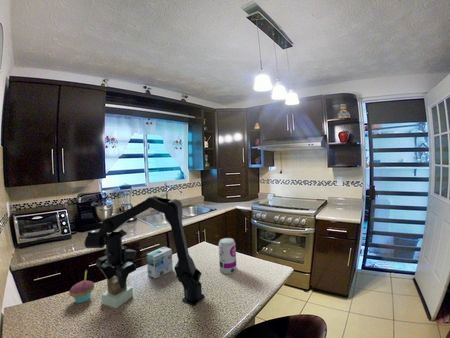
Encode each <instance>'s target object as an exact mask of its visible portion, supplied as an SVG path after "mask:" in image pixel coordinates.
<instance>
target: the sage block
mask: <svg viewBox="0 0 450 338" xmlns="http://www.w3.org/2000/svg"><path fill="white" fill-rule="evenodd" d="M133 296H134V291H133V286H130V285H127V289H126V290H124V291H122V292H121V293H119V294H117V295H116V296H115V295H113V294H111V293H109V292H108V290H105V292H103V293H101V294H100V297H101V304H102V305H104V306H108V307H110V308H114V309H117V308H120V306H122V305H123V304H124V303H125V302H127V301H128V300H130V299H131V298H132V297H133Z"/></svg>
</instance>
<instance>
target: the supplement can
mask: <svg viewBox="0 0 450 338" xmlns="http://www.w3.org/2000/svg"><path fill="white" fill-rule="evenodd" d="M236 245H237V244H236V242H235V239H234V238H231V237H224V238H221V239H219V241H218V257H219V258H218V259H219V271H220V272H221V273H222V274H224V275H230V274H231V275H232V274H234V273H235V272H236V271H237V268H238V267H237V250H236V247H237V246H236Z"/></svg>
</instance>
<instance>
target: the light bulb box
mask: <svg viewBox="0 0 450 338" xmlns="http://www.w3.org/2000/svg"><path fill="white" fill-rule="evenodd" d="M146 265H147V266H146V268H147V269H146V270H147V276H149V277H150V278H152V277H153V279H154V278H155V279H154V280H156V278H157V279H159V278H160V277H162V276H164V275H166V274H168V273H170V272H172V271H174V267H173V249H172V248H169V247H167V246H162V247H160V248H158V249H155V250H152V251H151V252H150V251H149V252H147V253H146Z"/></svg>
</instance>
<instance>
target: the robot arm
mask: <svg viewBox="0 0 450 338" xmlns="http://www.w3.org/2000/svg"><path fill="white" fill-rule="evenodd" d="M149 209H154V210H155V211H156V212H159V213H162V214H164V218H165V219H166V221H167V223H168V224H169V225H170V228H171V234H172V239H173V242H174V246H175V252H176V255H177V256H176V257H177V263H176V264H175V266H174V267H173V270H174V272H175V278H176V279H177V281H179V283H180V284H181V285H182V287H183V296H184V297H182V299H181V301H182V302H184V303H187V304H189V305H192V306H196V305H197V304H198V303H199V302H200V301H201V300H203V299H204V298H205V294H203V291H202V290H203V288H202V283H201V281H200V280H201V276H202V272H201V271H200V270H199V269H198V268H197V267H196V265H195V262H194V259H193V258H192V257H191V255H190V252H189V248H188V244H187V238H186V235H185V230H184V224H183V219H182V218H183V203H182V202H181V200H179V199H177V198H174V199H170V198H166V197H160V196H156V195H151V196H149V197H147V198H146V199H145V200H143V201H141V202H140V203H137V204H135V205H134V206H132V207H131V208H129V209H127V210H125V211H123V212H118V213H116V214H114V215H111V216H109V217H107V218H105V219H103V221H102V222H101V226H100V228H99V230H89V231H87V235H86V237H85V240H84V242H83V244H84V247H85V248H86V249H103V248H104V247H105V251H103V252H104V253H103V254H104V256H101V257H99V258H97V259H96V261H95V266H96V267H97V268H98V269H99V270H100V272H101V273H102V274H103V276H104V277H105V278H106V281H107V280H108V279H110V278H112V277H114V276H116V278H117V280H118V283H119V285H120V287H121V289H123V288H124V287H125V283H127V279H128V276H129V274H131V273H133V272H135V271H136V270H137V264H136V263H133V262H131V261H128V260H129V259H130V260H135V259H136V255H137V250H134V249H131V248H129V247H128V246H126V245H125V246H124V245H123V239H122V238H123V237H125V236H126V235H127V234H128V233H127V232H126V231H125V230H124V229H120V228H122V227H123V226H124V225H125V224H126V223H127V222H129V220H131V219H133V218H135V217H136V216H138V215H140V214H141V213H143V212H146V211H147V210H149ZM118 229H120V230H119V231H117V230H118ZM126 261H127V262H126ZM115 268H116V269H115ZM114 269H115V272H116V274H115V275H114Z"/></svg>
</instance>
